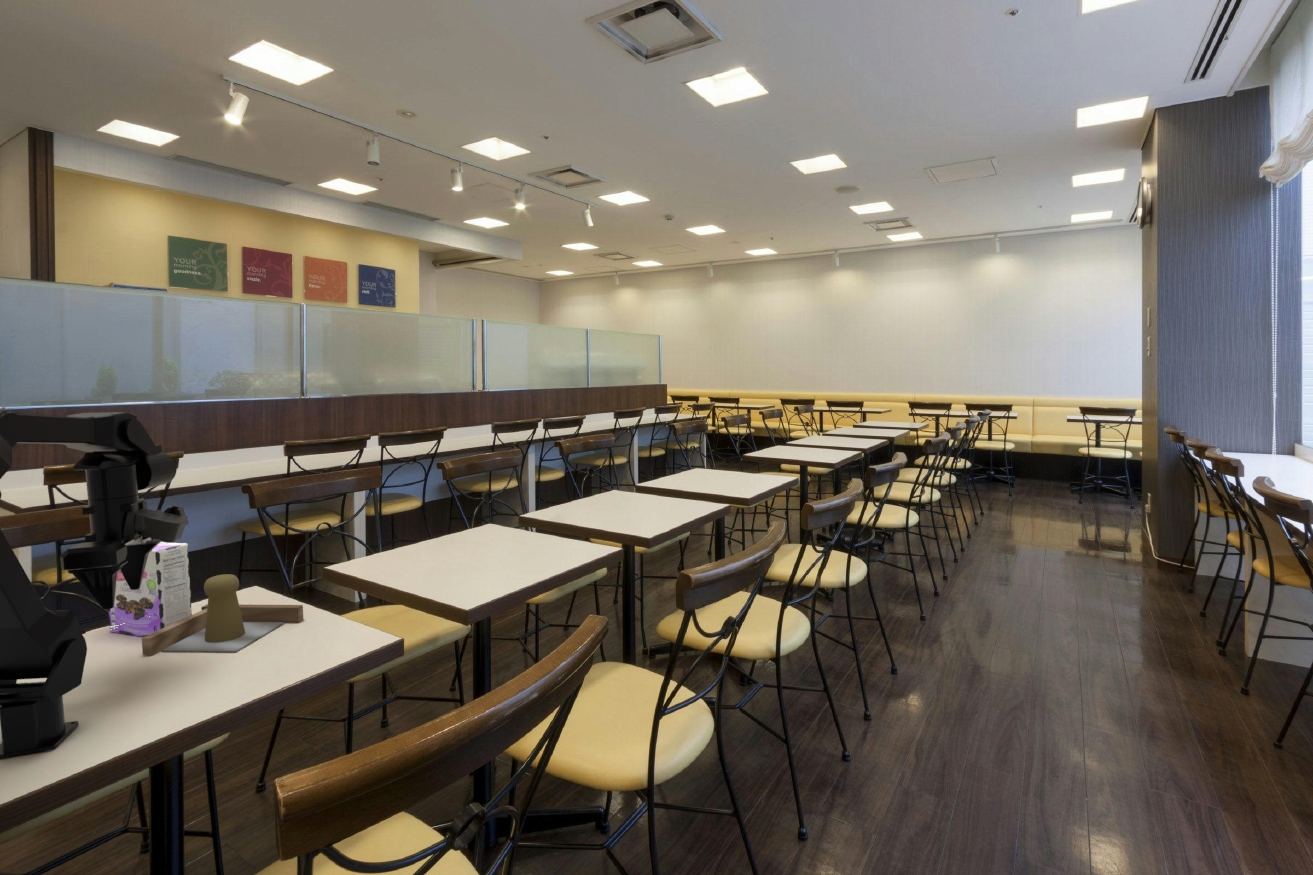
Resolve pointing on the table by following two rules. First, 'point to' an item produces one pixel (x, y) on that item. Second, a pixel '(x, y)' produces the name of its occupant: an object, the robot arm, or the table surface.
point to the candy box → (154, 593)
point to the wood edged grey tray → (192, 639)
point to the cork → (223, 609)
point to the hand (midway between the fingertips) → (122, 598)
